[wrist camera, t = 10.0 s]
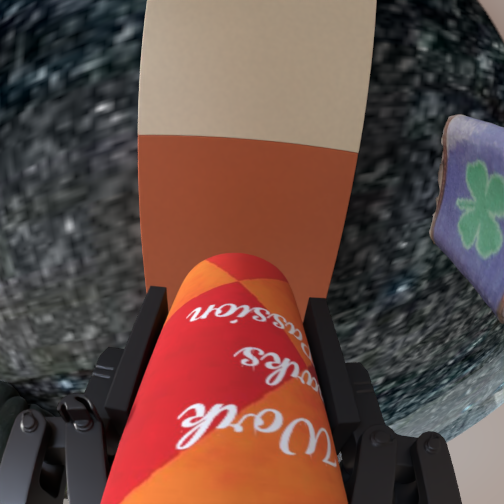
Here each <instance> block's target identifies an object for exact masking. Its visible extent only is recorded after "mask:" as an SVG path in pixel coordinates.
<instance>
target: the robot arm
mask: <svg viewBox="0 0 504 504" xmlns="http://www.w3.org/2000/svg"><path fill="white" fill-rule="evenodd" d="M168 314H169V312H168V300H167V287H159V286H150V288H149V290H148V292H147V295H146V297H145V299H144V302H143V304H142V307H141V309H140V311H139V314H138V316H137V319H136V321H135V324H134V326H133V329H132V331H131V334H130V336H129V339H128V341H127V344H126V347H125V349H119V348H113V347H108V348H107V349H106V350H105V351H104V352H103V353H102V354H101V355H100V357H99V359H98V361H97V364H96V367H95V369H94V371H93V373H92V374H93V375H92V376H91V378H90V380H89V383H88V385H87V388H86V390H85V393H84V394H80V393H73V394H69V395H67V396H65V397H64V398H62V400H61V401H60V402H59V403H58V407H57V411H58V412H59V414H60V416H61V417H44V416H43V415H42V414H41V412H39V411H37V410H35V409H27V410H24V411H22V412H21V413H19V414H18V416H17V417H16V419H15V422H14V424H13V427H12V430H11V433H10V436H9V439H8V442H7V445H6V448H5V451H4V454H3V458H2V461H1V464H0V504H63V500H64V494H65V488H66V483H67V492H68V503H69V504H100V503H101V500H102V496H103V493H104V490H105V487H106V483H107V480H108V477H109V474H110V471H111V468H112V464H113V461H114V458H115V455H116V452H117V447H118V444H119V440H121V437H122V434H123V432H124V429H125V426H126V423H127V420H128V417H129V414H130V412H131V409H132V406H133V403H134V400H135V398H136V395H137V392H138V389H139V387H140V384H141V382H142V379H143V376H144V374H145V371H146V368H147V366H148V363H149V361H150V358H151V355H152V353H153V350H154V348H155V345H156V343H157V340H158V338H159V335H160V333H161V330H162V328H163V326H164V323H165V321H166V318H167V316H168ZM303 327H304V331H305V334H306V338H307V341H308V345H309V349H310V352H311V356H312V360H313V363H314V367H315V371H316V375H317V378H318V382H319V386H320V390H321V393H322V397H323V401H324V405H325V409H326V413H327V417H328V421H329V425H330V429H331V433H332V437H333V441H334V445H335V450H336V454H337V455H338V454H339V453H340V451H341V454H342V461H341V462H340V463H339V466H340V471H341V475H342V479H343V484H344V488H345V492H346V497H347V501H348V504H462V502H461V497H460V493H459V489H458V485H457V480H456V476H455V473H454V469H453V465H452V461H451V457H450V454H449V450H448V447H447V443H446V441H445V439H444V438H443V437H442V436H441V435H440V434H438V433H436V432H430V431H428V432H425V433H423V434H422V435H421V436H420V437H419V438H415V437H408V436H402V435H398V434H396V433H394V431H393V430H392V429H391V428H389V427H388V426H386V425H385V422H384V420H383V417H382V414H381V410H380V407H379V404H378V401H377V398H376V395H375V392H374V389H373V386H372V384H371V380H370V377H369V374H368V371H367V370H366V369H365V368H364V367H363V365H362V364H361V363H360V362H358V363H345V361H344V358H343V354H342V351H341V347H340V344H339V341H338V337H337V334H336V331H335V328H334V324H333V321H332V318H331V315H330V312H329V308H328V305H327V302H326V299H325V298H315V297H309V300H308V304H307V308H306V312H305V316H304V321H303Z"/></svg>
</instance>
